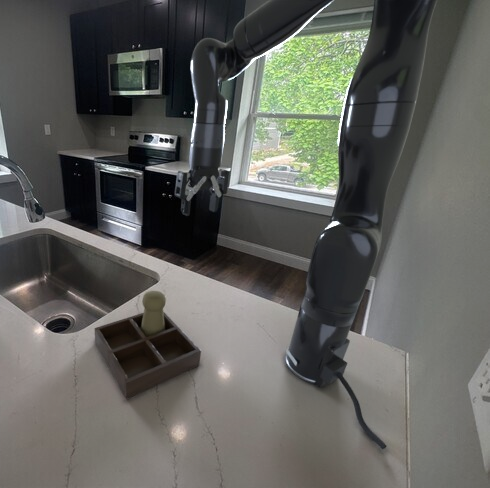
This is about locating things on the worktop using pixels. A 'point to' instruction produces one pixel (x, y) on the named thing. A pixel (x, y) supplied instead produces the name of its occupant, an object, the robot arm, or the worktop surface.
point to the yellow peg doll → (153, 313)
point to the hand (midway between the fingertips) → (199, 212)
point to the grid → (145, 353)
